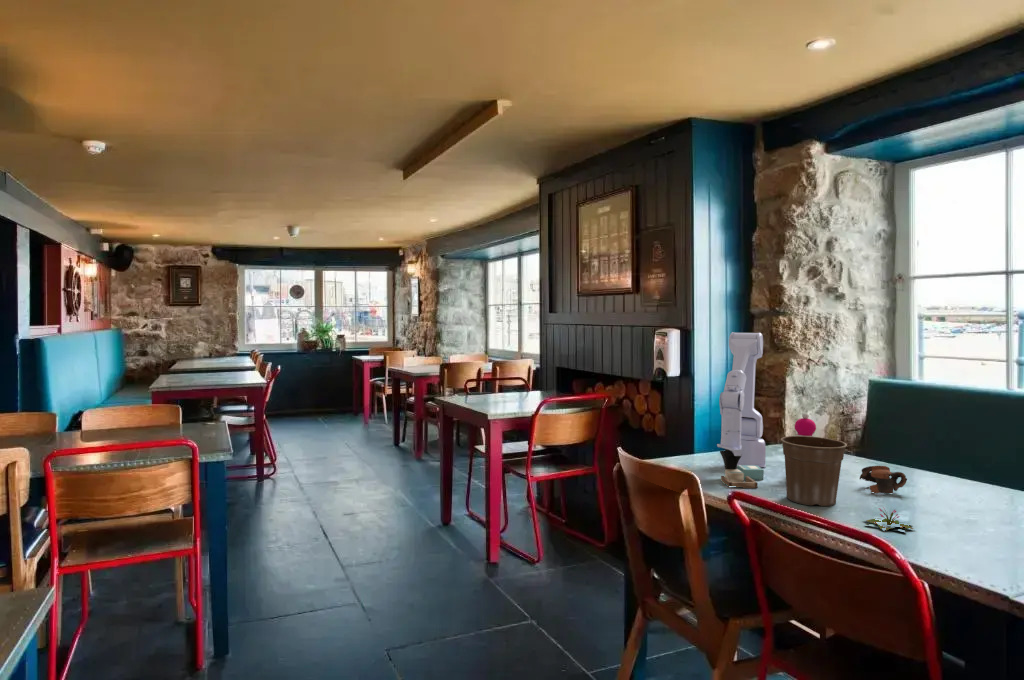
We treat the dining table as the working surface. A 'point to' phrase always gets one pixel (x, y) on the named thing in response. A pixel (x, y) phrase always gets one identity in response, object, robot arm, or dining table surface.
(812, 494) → the plant pot
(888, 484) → the pottery mug
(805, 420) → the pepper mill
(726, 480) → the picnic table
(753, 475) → the teal toy building
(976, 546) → the dining table surface
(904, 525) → the lily flower
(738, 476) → the stub
